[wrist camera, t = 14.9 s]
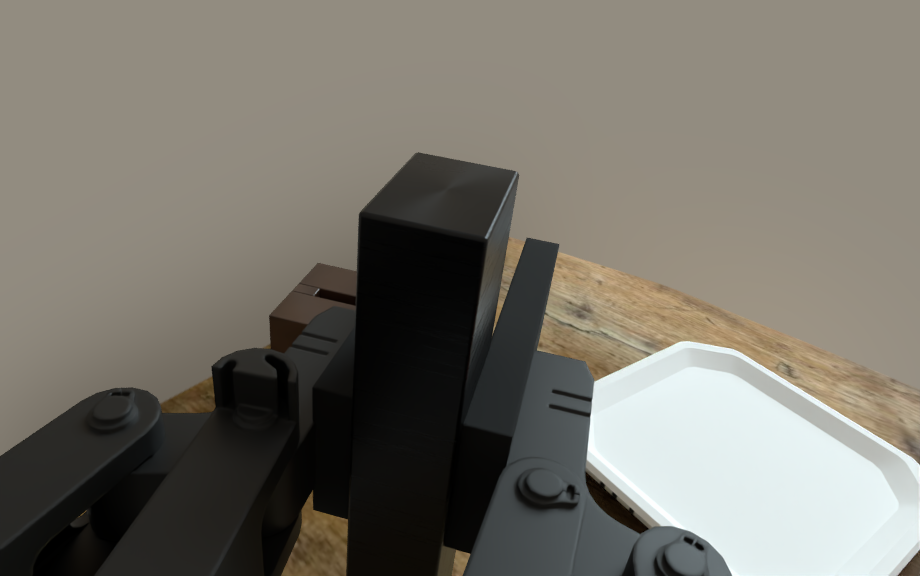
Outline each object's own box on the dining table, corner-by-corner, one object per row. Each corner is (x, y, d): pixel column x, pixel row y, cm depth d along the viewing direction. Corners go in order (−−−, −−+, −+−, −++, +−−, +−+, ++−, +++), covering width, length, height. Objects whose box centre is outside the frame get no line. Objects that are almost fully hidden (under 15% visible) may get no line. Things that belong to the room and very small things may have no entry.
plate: (797, 694, 32) (815, 669, 31) (521, 434, 45) (526, 410, 44) (953, 513, 44) (970, 490, 42) (696, 349, 57) (704, 328, 56)
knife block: (274, 427, 43) (268, 315, 39) (318, 365, 49) (317, 262, 45) (373, 453, 42) (380, 341, 38) (406, 387, 48) (415, 284, 44)
